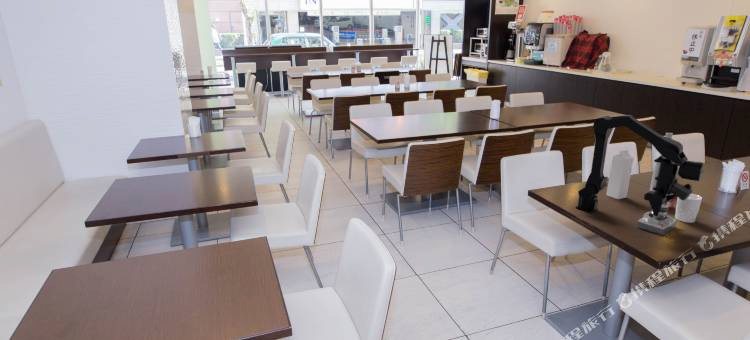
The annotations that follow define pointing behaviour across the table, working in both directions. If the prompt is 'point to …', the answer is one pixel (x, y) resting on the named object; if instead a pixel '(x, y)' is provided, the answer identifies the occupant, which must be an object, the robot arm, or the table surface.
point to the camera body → (656, 224)
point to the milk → (620, 175)
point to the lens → (662, 212)
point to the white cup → (688, 208)
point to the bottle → (657, 167)
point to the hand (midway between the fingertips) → (658, 213)
